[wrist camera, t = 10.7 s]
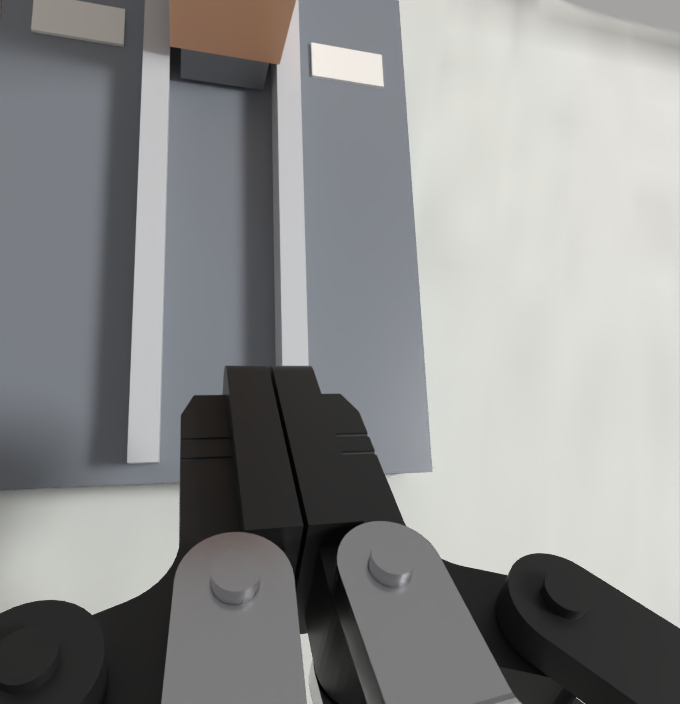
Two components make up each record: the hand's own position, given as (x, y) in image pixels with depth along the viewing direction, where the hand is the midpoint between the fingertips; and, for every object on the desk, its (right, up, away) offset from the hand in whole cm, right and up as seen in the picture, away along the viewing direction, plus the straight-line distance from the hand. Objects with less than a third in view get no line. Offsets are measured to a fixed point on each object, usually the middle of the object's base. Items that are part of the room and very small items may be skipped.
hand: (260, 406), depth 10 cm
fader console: (-3, +5, +8) cm, 10 cm away
